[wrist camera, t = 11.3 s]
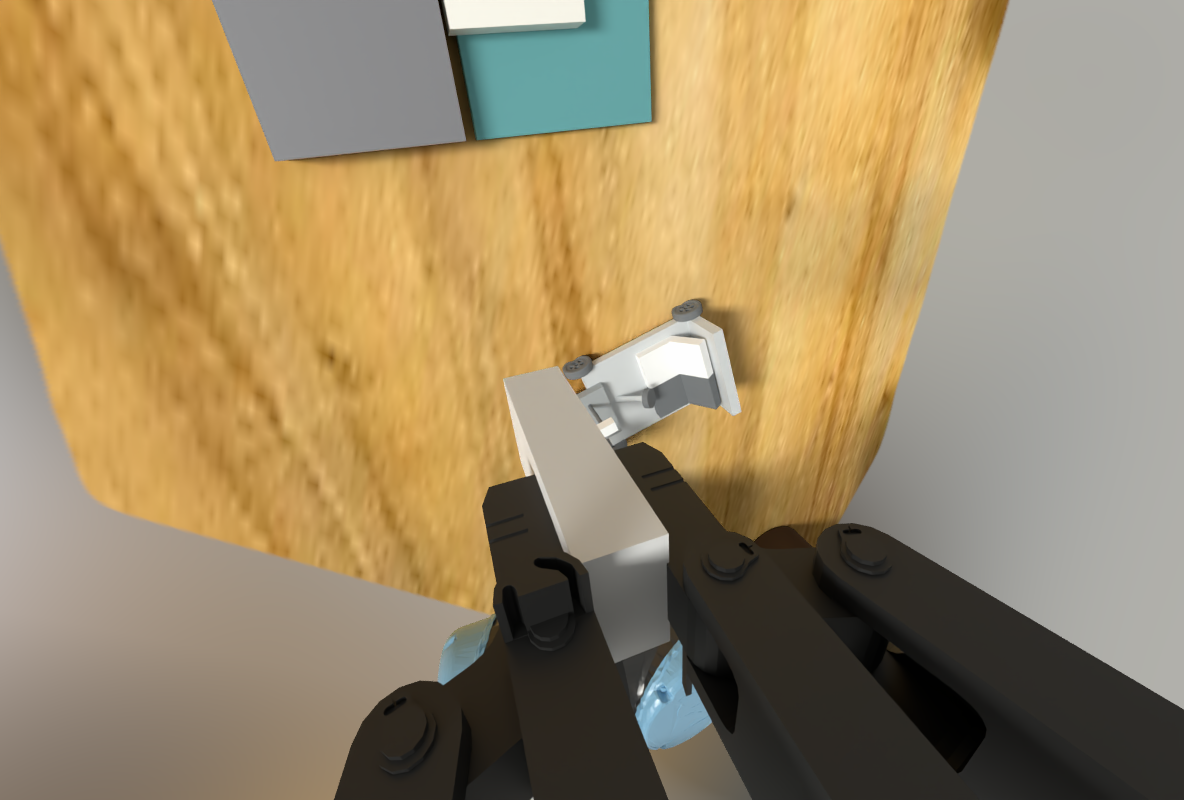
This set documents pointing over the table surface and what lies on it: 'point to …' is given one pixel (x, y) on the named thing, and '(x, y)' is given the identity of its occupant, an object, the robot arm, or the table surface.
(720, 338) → the toy car
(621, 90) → the mat
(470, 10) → the tile
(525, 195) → the table surface
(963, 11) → the table surface
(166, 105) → the table surface
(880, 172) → the table surface
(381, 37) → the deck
